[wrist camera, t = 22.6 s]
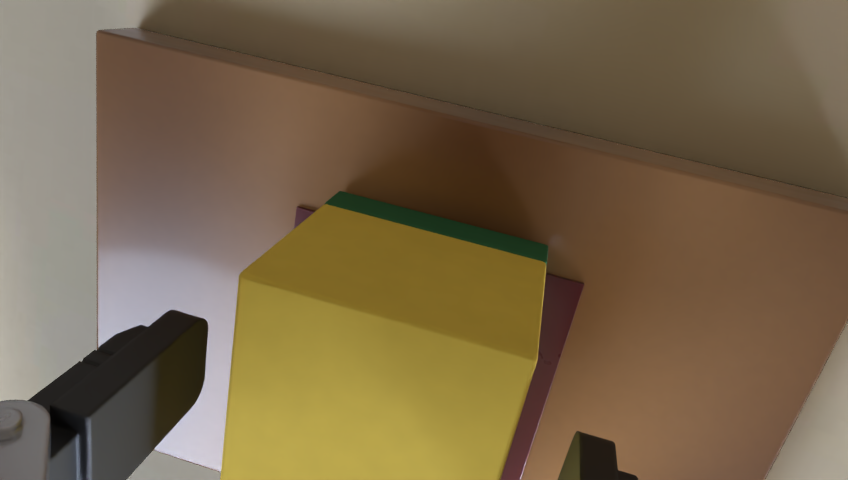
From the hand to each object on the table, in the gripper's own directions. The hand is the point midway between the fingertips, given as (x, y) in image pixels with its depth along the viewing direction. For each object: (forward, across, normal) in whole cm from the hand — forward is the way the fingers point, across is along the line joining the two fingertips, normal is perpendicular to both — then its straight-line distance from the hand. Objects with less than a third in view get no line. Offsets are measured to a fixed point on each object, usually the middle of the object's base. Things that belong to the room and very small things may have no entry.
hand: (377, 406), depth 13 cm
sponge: (+3, 0, 0) cm, 3 cm away
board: (+4, 0, 0) cm, 5 cm away
